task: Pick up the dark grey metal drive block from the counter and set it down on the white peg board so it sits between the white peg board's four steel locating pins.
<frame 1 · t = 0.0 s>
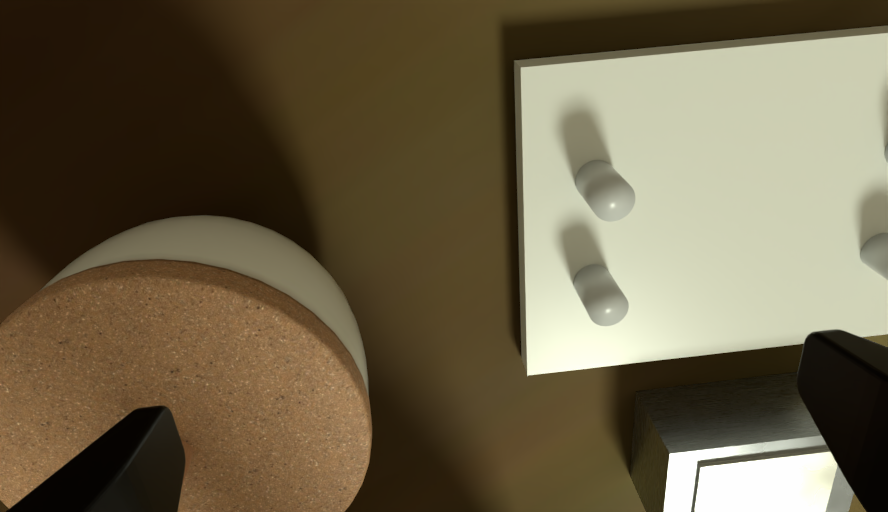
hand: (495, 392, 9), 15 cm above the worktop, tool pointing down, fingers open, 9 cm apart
drive: (717, 421, 30), on the worktop
white peg board: (728, 203, 25), on the worktop
lidded jar: (233, 300, 25), on the worktop
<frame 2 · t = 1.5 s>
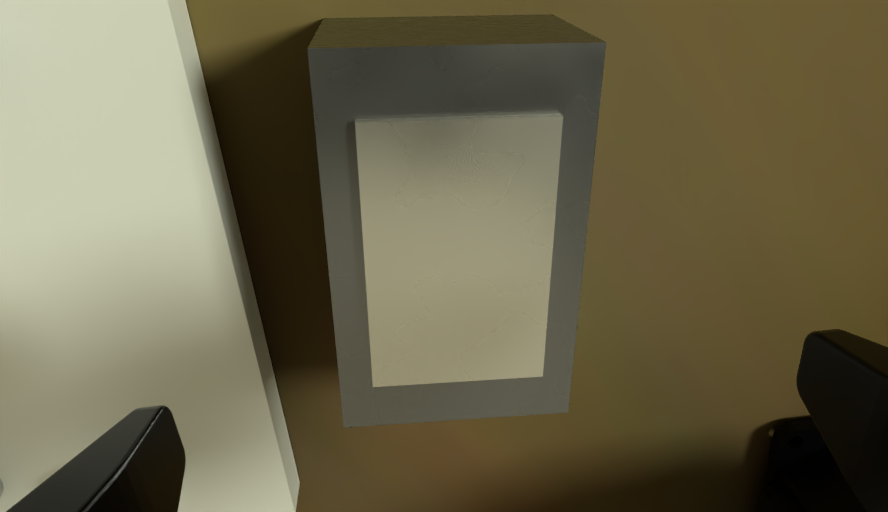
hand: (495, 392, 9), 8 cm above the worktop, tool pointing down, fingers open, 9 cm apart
drive: (440, 185, 16), on the worktop
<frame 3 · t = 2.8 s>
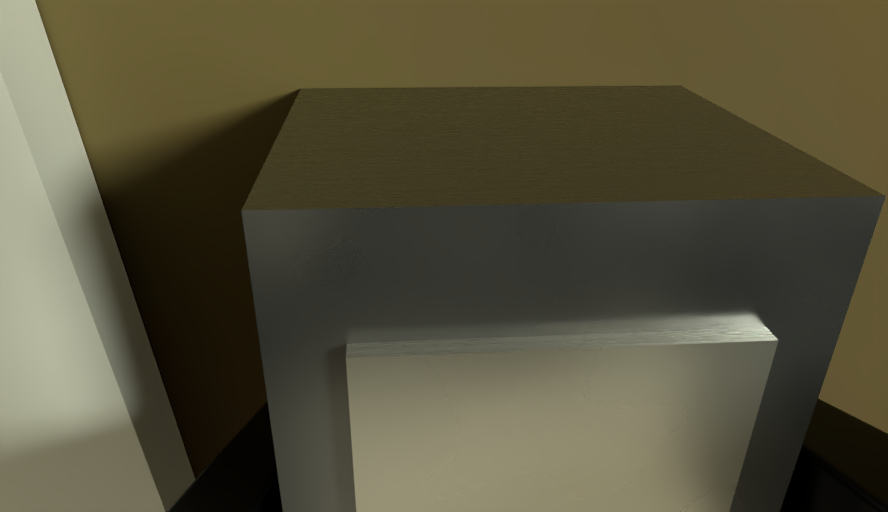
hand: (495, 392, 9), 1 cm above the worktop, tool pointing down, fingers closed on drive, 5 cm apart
drive: (483, 343, 10), on the worktop, touching gripper
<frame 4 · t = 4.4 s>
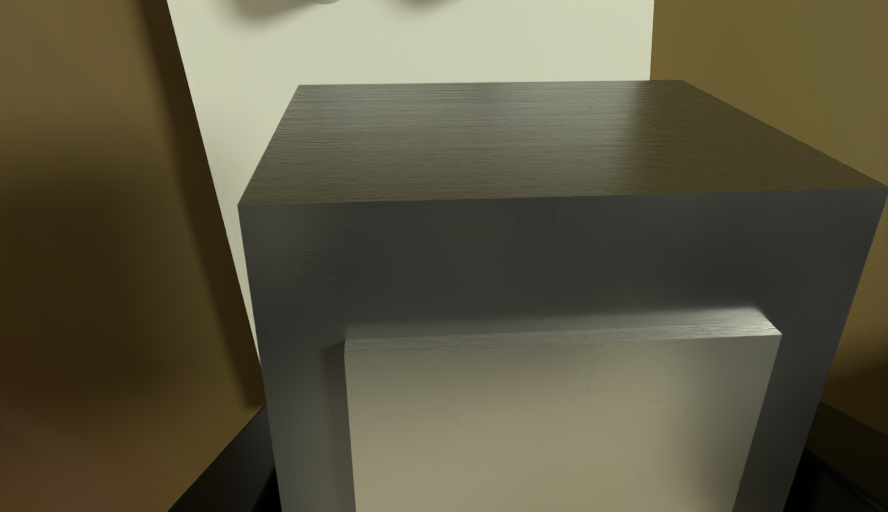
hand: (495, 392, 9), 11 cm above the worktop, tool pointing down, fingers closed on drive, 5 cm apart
drive: (484, 340, 10), point 10 cm above the worktop, touching gripper
white peg board: (430, 159, 19), on the worktop
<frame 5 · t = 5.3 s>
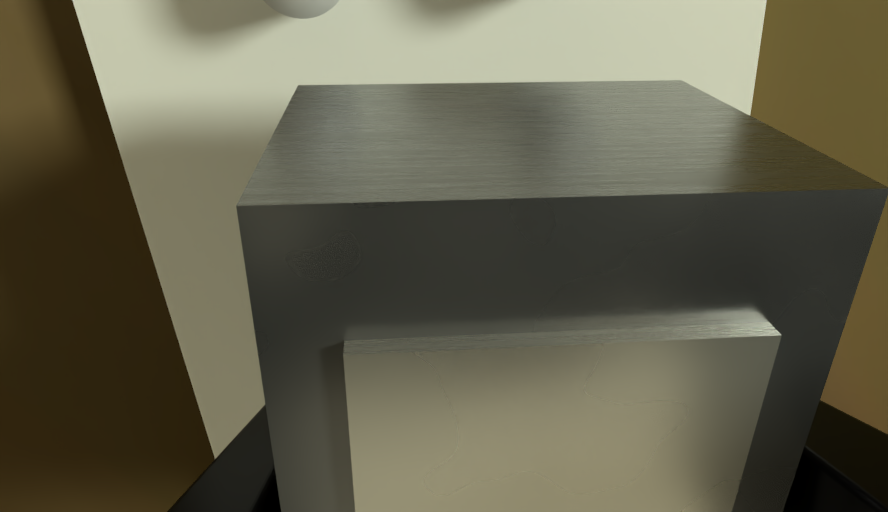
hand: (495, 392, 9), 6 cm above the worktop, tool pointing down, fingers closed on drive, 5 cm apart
drive: (483, 340, 10), point 5 cm above the worktop, touching gripper
white peg board: (447, 219, 15), on the worktop
when the fingers open (4 cm above the worktop, at t = 6.1 s): drive drops 1 cm, resting on white peg board.
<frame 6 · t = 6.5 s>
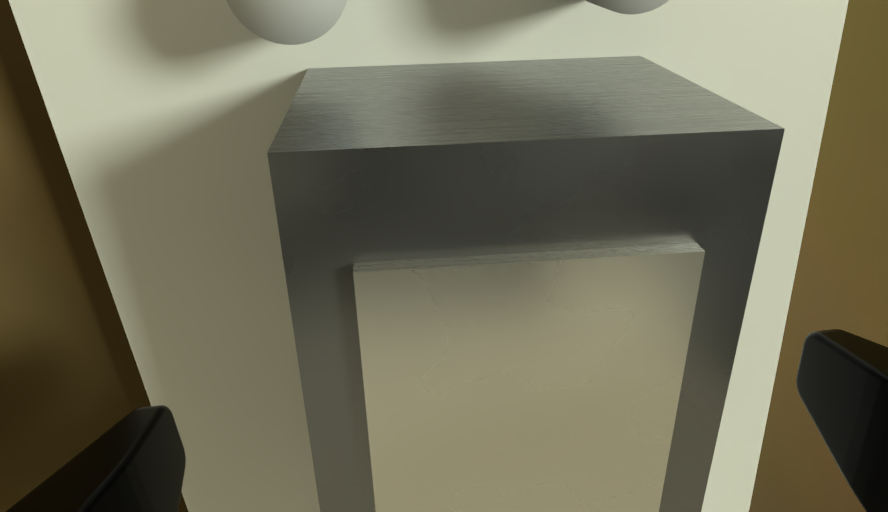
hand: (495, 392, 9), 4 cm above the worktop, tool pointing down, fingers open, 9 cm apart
drive: (476, 293, 12), point 1 cm above the worktop, touching white peg board
white peg board: (461, 264, 13), on the worktop
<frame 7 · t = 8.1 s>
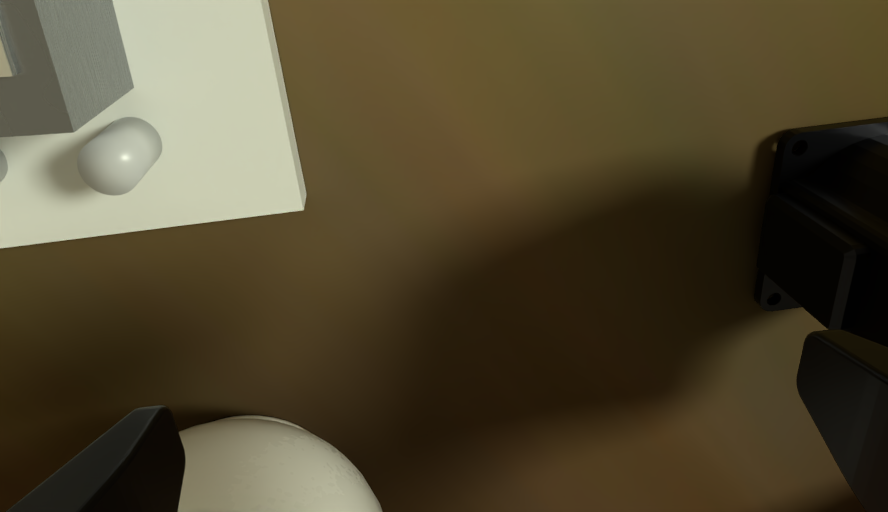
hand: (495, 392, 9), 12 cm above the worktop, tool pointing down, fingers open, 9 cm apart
lidded jar: (254, 473, 25), on the worktop
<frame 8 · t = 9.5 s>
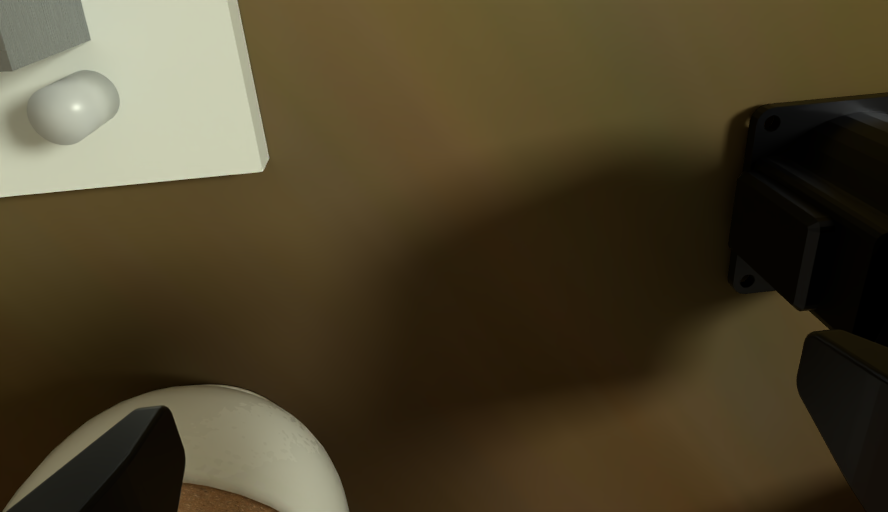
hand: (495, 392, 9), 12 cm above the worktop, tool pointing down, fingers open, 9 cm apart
lidded jar: (220, 445, 25), on the worktop
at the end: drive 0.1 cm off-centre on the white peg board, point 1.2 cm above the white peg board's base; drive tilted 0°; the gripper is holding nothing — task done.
